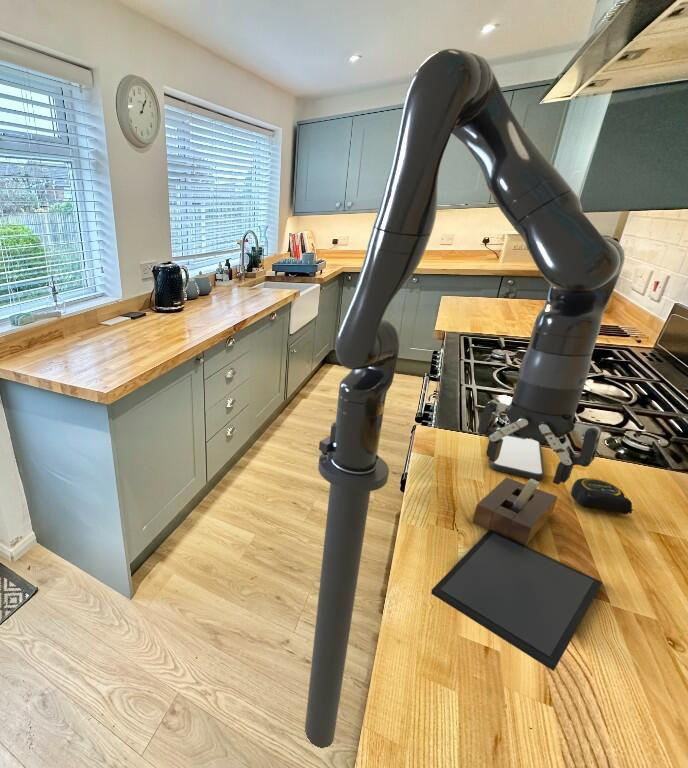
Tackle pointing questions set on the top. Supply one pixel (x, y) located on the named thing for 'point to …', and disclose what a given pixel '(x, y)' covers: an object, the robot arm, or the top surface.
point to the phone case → (520, 457)
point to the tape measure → (600, 496)
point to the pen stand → (509, 523)
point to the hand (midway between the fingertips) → (523, 470)
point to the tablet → (519, 595)
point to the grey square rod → (524, 495)
